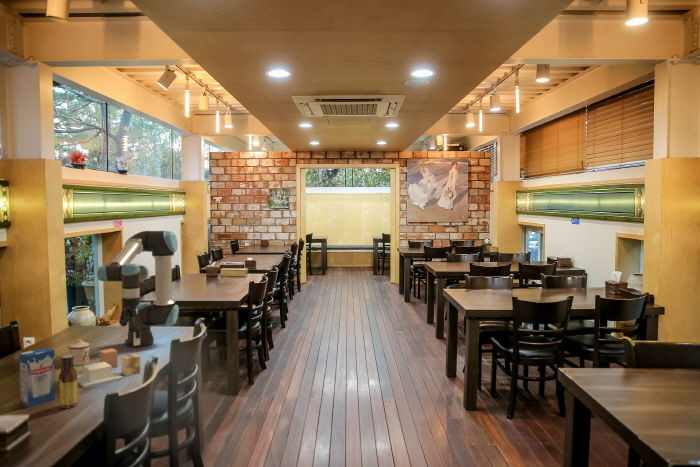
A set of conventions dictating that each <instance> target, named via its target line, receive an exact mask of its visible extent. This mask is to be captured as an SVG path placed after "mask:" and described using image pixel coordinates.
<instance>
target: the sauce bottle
mask: <svg viewBox="0 0 700 467" xmlns="http://www.w3.org/2000/svg"><path fill="white" fill-rule="evenodd" d="M73 359H74V356H73V355H69V354H65V355H62V356H61V362H62V363H61V370H60V372H59V375H58V403H59V407H60V408H61V409H71V408H74V407H76V406H77V405H78V399H79V398H78V397H79V396H78V395H79V392H78V391H79V390H78V387H79V386H78V383H77V375H78V372H77V370H76V369H75V367H74V365H73Z"/></svg>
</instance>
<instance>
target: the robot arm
mask: <svg viewBox="0 0 700 467" xmlns="http://www.w3.org/2000/svg"><path fill="white" fill-rule="evenodd" d="M177 239H178V238H177V235H176V234H175V232H173V231H171V230H170V231H169V230H143V231H139V232H138V233H135V234H133V235H132V236H130V237H129V238H128V239H127V240H126V241H125V242H124V246H123V248H121V250H120V251H119V252H118V253H117V254H116V255H115V256H114V257H113V259H112V260H111V261H110V263H109V264H107V265H101V266H98V268H97V271H96V276H97V279H98V281H100V282H121V291H120V293H121V296H122V298H121V312H120V316H119V322H118V323H119V325H120V327H121V328H120V330H121V334H120V337H121V338H120V339H121V341H124V346H125V347H128V348H142V347H143V348H144V347H147V346H152V345H154V342H155V338H154V335H153V333H152V331H151V327H152V326H155V327H159V326H160V327H161V326H163V327H168V326H174V325H175V324H176V323H177V321H178V317H179V313H180V312H179V310H180V309H179V305H178V304H176V301H175V300H174V299H173V286H172V285H173V284H172V283H173V281H172V280H173V278H172V275H173V274H172V272H173V271H172V270H173V269H172V258H173V256H175V253H176V252H177V251H178V247H179V246H178V240H177ZM145 252H151V256H152V257H153V258H154V270H155V271H154V272H155V273H154V274H155V275H154V276H155V277H154V278H155V300H154V301H153V303H151V302H150V301H143V302H141V301H140V297H139V296H140V295H141V294H140V293H141V292H140V291H141V290H140V288H141V286H140V282H143V281H145V280H146V279H148V277H149V275H150V271H149V268H148V267H147V266H146V265H140V264H138V263H131V262H132V261H133V260H134V259H135V258H136V256H137V255H139V254H142V253H145Z"/></svg>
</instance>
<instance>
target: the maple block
mask: <svg viewBox="0 0 700 467" xmlns="http://www.w3.org/2000/svg"><path fill="white" fill-rule="evenodd" d="M121 374H123V375H125V376H126V377H129V376H134V375H138V374H141V356H140V355H138V354H136V353H130V354H126V355H121Z"/></svg>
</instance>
